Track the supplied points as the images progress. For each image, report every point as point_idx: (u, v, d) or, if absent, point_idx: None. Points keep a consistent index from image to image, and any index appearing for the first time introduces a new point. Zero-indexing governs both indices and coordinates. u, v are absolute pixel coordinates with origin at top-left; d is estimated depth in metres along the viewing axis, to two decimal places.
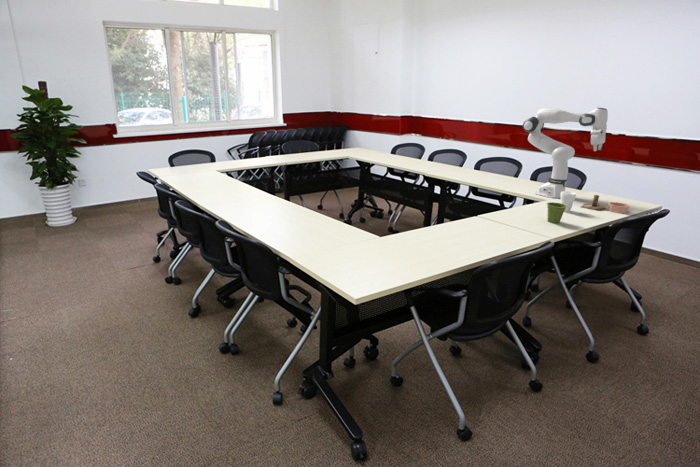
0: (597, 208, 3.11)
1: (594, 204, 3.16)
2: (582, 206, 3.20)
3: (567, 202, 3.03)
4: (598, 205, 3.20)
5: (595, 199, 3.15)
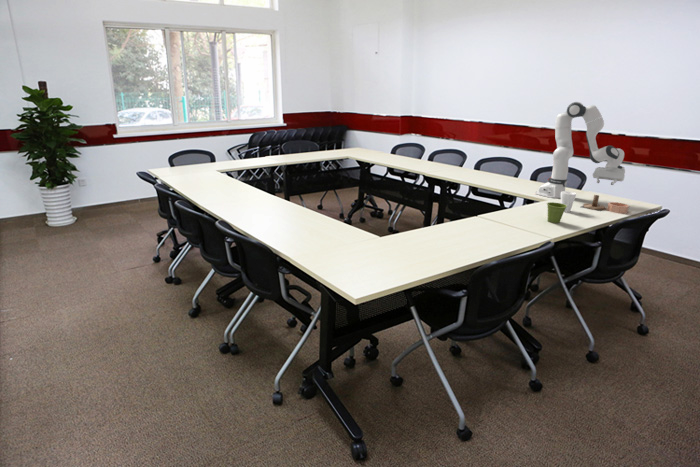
0: (597, 208, 3.11)
1: (594, 204, 3.16)
2: (582, 206, 3.20)
3: (567, 202, 3.03)
4: (598, 205, 3.20)
5: (595, 199, 3.15)
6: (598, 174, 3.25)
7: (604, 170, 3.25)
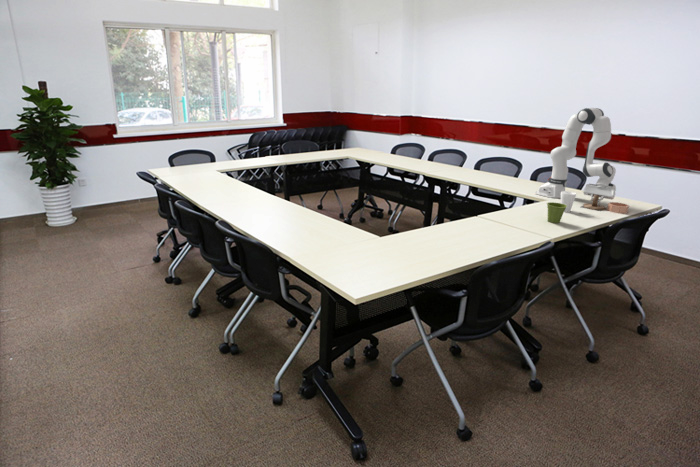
0: (597, 208, 3.11)
1: (594, 204, 3.16)
2: (582, 206, 3.20)
3: (567, 202, 3.03)
4: (598, 205, 3.20)
5: (595, 199, 3.15)
6: (589, 191, 3.20)
7: (595, 187, 3.20)
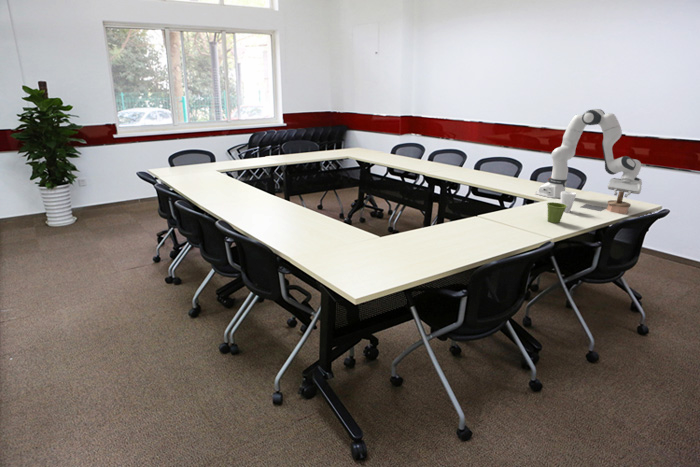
0: (622, 205, 3.03)
1: (619, 201, 3.08)
2: (582, 206, 3.20)
3: (567, 202, 3.03)
4: (623, 202, 3.12)
5: (620, 196, 3.07)
6: (613, 185, 3.12)
7: (620, 181, 3.11)
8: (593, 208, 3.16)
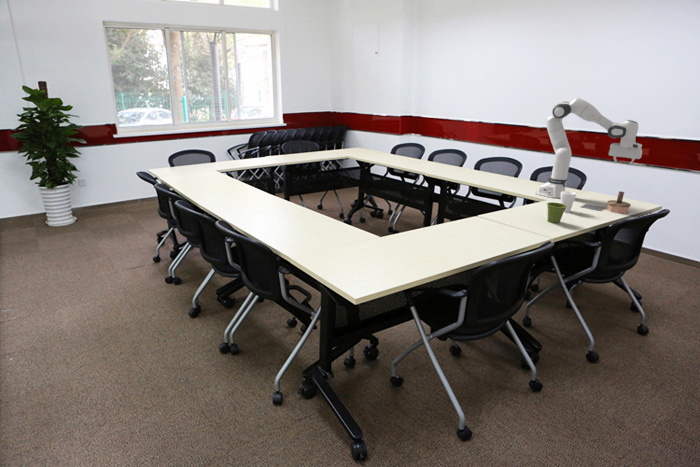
0: (622, 205, 3.03)
1: (619, 201, 3.08)
2: (582, 206, 3.20)
3: (567, 202, 3.03)
4: (623, 202, 3.12)
5: (620, 196, 3.07)
6: (614, 154, 3.18)
7: (619, 148, 3.15)
8: (593, 208, 3.16)
